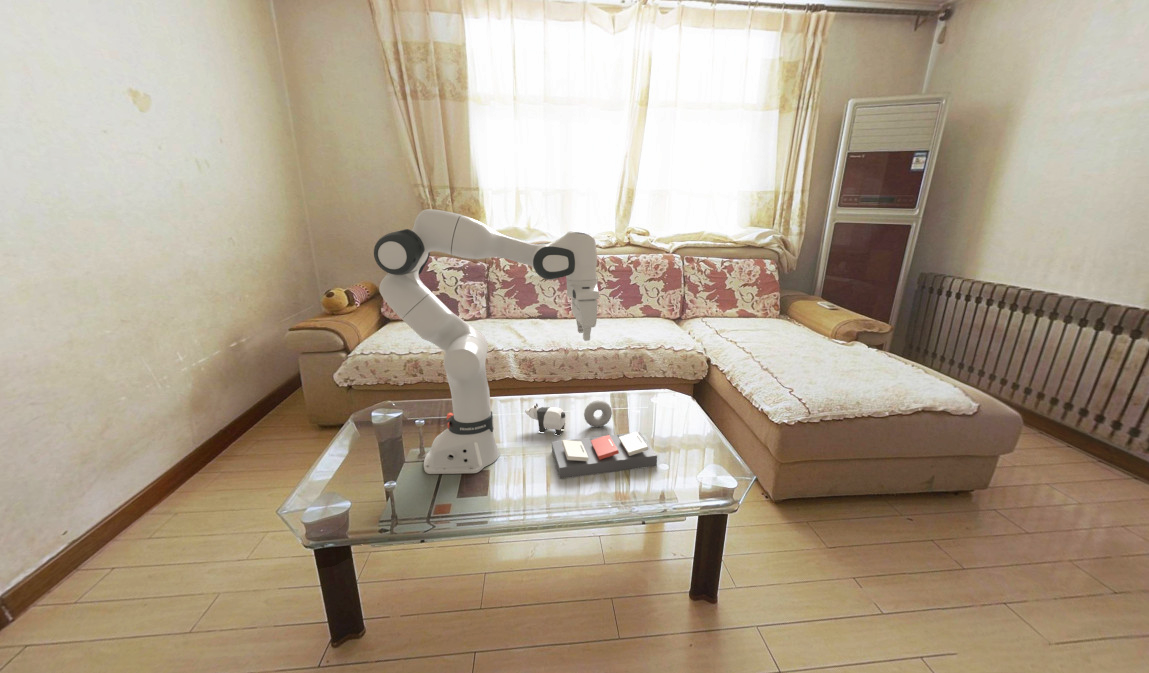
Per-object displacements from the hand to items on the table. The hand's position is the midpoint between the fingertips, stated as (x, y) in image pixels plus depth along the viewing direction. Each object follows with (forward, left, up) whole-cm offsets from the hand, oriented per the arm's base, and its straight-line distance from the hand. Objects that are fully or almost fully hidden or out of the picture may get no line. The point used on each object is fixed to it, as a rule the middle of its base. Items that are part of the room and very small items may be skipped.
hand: (583, 336), depth 123 cm
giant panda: (-10, +16, -38) cm, 42 cm away
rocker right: (+13, -8, -32) cm, 36 cm away
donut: (+8, +15, -38) cm, 42 cm away
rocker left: (-5, -8, -32) cm, 34 cm away
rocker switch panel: (+4, -6, -38) cm, 38 cm away
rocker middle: (+4, -8, -32) cm, 34 cm away
